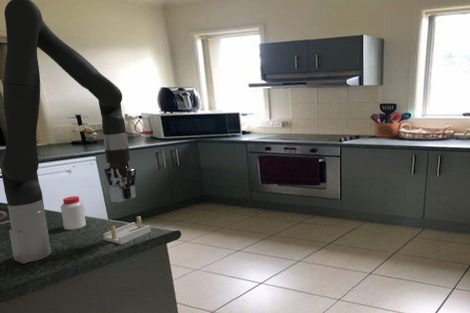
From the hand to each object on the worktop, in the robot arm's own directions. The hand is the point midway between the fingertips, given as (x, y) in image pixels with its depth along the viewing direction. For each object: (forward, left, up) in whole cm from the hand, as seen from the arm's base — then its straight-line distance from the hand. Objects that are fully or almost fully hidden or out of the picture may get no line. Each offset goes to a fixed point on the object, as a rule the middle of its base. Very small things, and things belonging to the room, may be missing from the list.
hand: (123, 198), depth 122 cm
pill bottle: (-2, +29, -13) cm, 32 cm away
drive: (0, 0, 0) cm, 0 cm away
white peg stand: (0, 0, -13) cm, 13 cm away
